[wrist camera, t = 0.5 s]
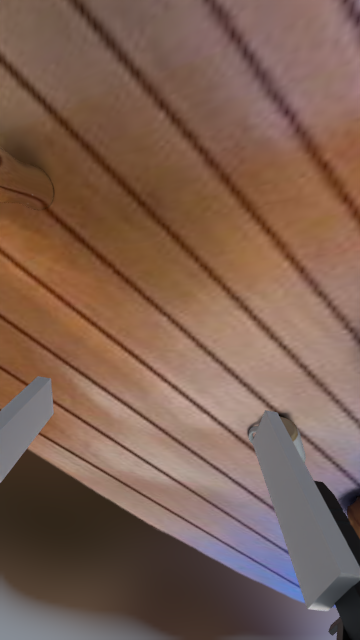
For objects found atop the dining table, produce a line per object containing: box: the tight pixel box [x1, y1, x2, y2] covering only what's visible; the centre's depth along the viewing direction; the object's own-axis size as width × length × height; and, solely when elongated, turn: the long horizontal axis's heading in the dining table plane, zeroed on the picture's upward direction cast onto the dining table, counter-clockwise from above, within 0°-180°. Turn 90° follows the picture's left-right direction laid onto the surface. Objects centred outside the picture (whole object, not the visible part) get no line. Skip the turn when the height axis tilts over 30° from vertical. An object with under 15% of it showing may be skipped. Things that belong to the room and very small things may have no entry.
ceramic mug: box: [249, 417, 305, 463], centre depth 45 cm, size 11×8×8 cm
